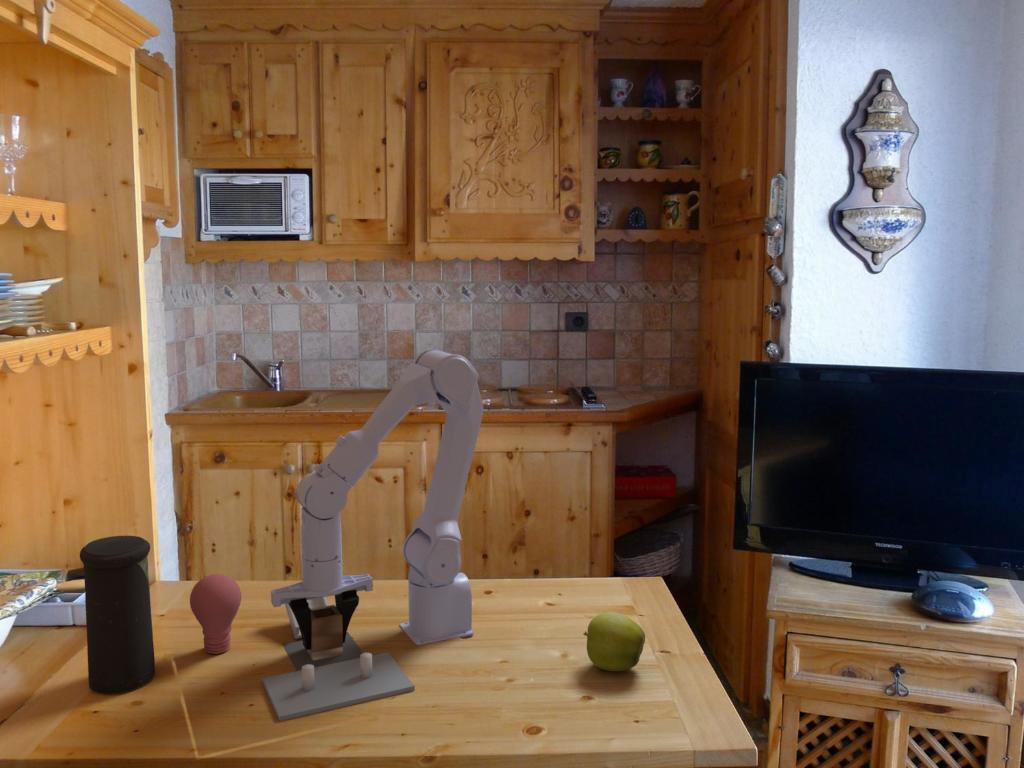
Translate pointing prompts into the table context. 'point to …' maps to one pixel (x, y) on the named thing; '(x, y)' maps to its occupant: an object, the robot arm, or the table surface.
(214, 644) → the light bulb
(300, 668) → the mat
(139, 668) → the container
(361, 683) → the pin board
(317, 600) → the feeder chute
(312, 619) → the sleeve
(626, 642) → the apple
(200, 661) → the table surface
